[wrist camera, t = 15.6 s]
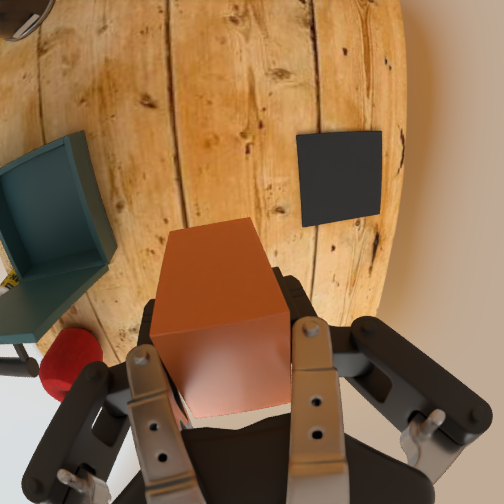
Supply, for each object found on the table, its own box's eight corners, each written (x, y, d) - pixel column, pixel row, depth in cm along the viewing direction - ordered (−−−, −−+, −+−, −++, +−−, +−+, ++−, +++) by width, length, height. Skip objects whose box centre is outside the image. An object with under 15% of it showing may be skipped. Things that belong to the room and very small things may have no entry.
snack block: (169, 230, 13) (148, 335, 7) (250, 216, 14) (290, 311, 8) (192, 312, 16) (195, 419, 10) (260, 300, 16) (292, 402, 10)
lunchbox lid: (-55, 337, 12) (-31, 383, 14) (32, 332, 14) (65, 394, 15) (19, 283, 28) (32, 318, 29) (107, 263, 29) (120, 305, 31)
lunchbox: (-3, 171, 24) (-20, 180, 21) (84, 130, 26) (68, 134, 22) (33, 267, 32) (21, 284, 28) (117, 247, 33) (109, 264, 30)
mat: (295, 135, 31) (296, 135, 30) (380, 131, 32) (382, 131, 31) (302, 226, 37) (303, 227, 36) (378, 213, 38) (379, 214, 37)
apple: (47, 324, 37) (21, 385, 26) (84, 309, 37) (59, 378, 26) (82, 362, 43) (68, 422, 31) (121, 352, 43) (110, 418, 31)
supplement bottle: (33, 268, 32) (9, 302, 25) (37, 292, 34) (16, 327, 27) (11, 261, 31) (-15, 293, 24) (15, 285, 33) (-7, 318, 26)
